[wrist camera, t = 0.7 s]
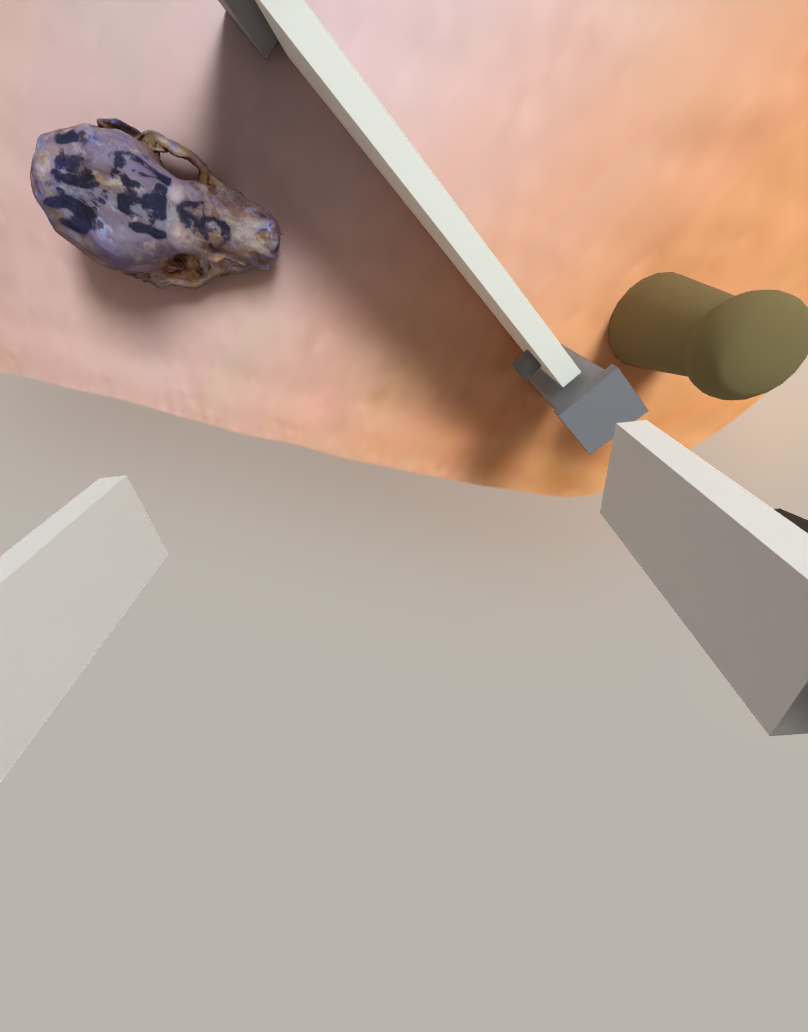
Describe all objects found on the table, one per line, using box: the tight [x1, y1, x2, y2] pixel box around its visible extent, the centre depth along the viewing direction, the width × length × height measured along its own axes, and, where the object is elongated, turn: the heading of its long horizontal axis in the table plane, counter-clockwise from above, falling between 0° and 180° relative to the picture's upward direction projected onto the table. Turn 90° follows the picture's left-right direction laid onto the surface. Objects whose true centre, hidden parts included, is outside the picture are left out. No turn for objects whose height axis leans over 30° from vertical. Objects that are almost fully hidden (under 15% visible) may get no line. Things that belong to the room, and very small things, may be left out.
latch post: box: [528, 344, 648, 454], centre depth 27 cm, size 3×4×10 cm
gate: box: [255, 0, 581, 387], centre depth 23 cm, size 22×2×8 cm, turn 45°
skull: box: [30, 119, 282, 288], centre depth 24 cm, size 12×8×6 cm, turn 70°
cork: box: [608, 272, 808, 400], centre depth 24 cm, size 6×6×11 cm
